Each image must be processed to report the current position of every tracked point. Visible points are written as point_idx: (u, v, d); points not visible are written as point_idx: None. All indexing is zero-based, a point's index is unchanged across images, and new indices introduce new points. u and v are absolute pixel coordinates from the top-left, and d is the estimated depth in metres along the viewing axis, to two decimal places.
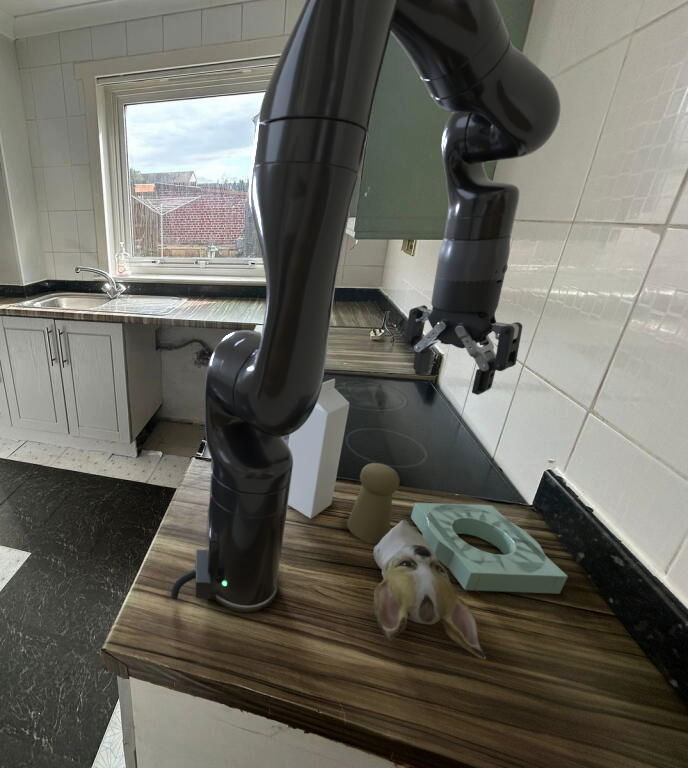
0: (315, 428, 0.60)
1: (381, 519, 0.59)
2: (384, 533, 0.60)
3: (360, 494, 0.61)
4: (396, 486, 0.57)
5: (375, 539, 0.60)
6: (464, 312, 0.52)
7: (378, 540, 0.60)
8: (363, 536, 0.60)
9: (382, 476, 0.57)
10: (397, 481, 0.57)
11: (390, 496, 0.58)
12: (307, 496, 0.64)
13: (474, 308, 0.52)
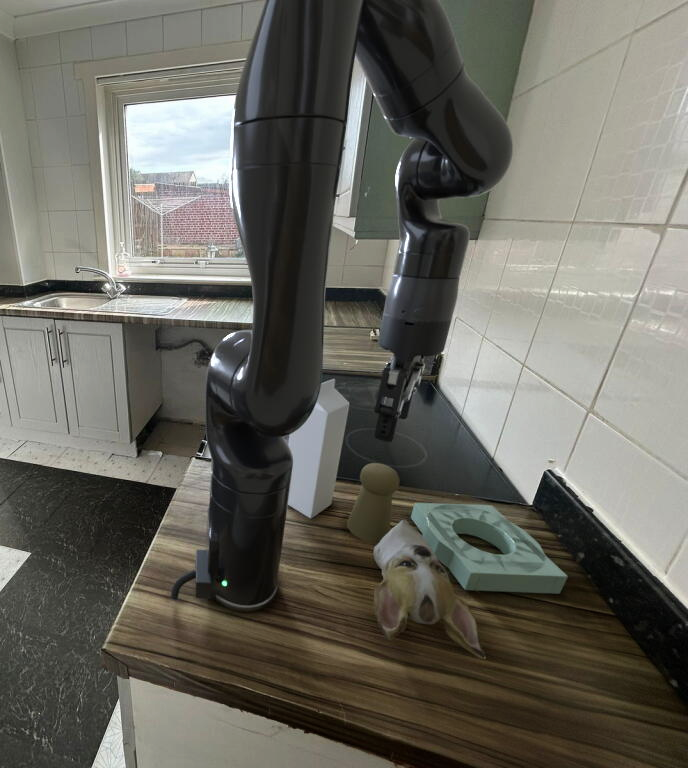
0: (315, 428, 0.60)
1: (381, 519, 0.59)
2: (384, 533, 0.60)
3: (360, 494, 0.61)
4: (396, 486, 0.57)
5: (375, 539, 0.60)
6: (380, 345, 0.52)
7: (378, 540, 0.60)
8: (363, 536, 0.60)
9: (382, 476, 0.57)
10: (397, 481, 0.57)
11: (390, 496, 0.58)
12: (307, 496, 0.64)
13: (384, 343, 0.51)
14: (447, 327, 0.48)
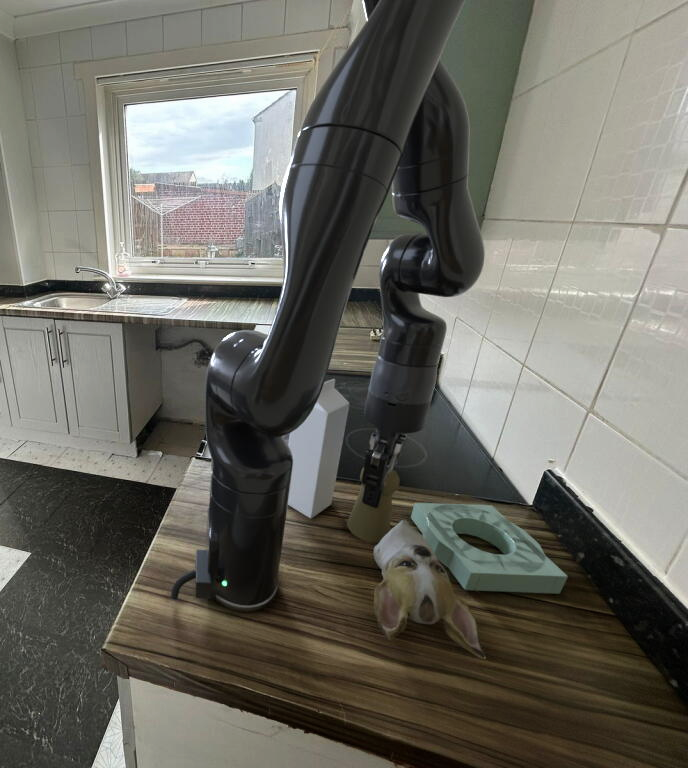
0: (315, 428, 0.60)
1: (381, 518, 0.59)
2: (384, 533, 0.60)
3: (360, 494, 0.61)
4: (396, 486, 0.57)
5: (375, 539, 0.60)
6: (365, 418, 0.56)
7: (378, 540, 0.60)
8: (363, 536, 0.60)
9: None
10: (397, 481, 0.57)
11: (390, 496, 0.58)
12: (307, 496, 0.64)
13: (369, 418, 0.55)
14: (426, 408, 0.52)
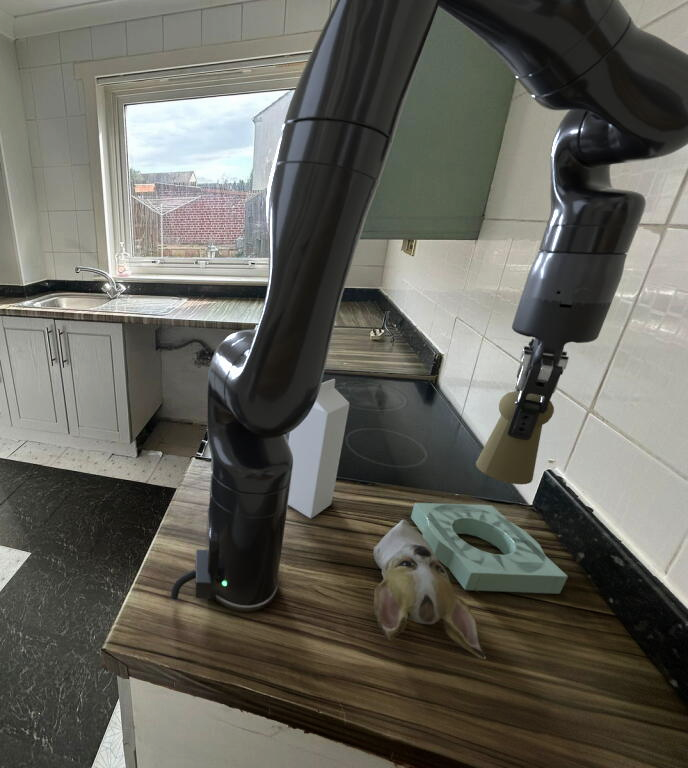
0: (315, 428, 0.60)
1: (529, 455, 0.50)
2: (530, 472, 0.51)
3: (499, 428, 0.52)
4: (552, 413, 0.48)
5: (519, 480, 0.51)
6: (518, 332, 0.47)
7: (523, 481, 0.51)
8: (504, 477, 0.51)
9: None
10: (552, 408, 0.48)
11: (541, 427, 0.49)
12: (307, 496, 0.64)
13: (527, 329, 0.46)
14: (608, 310, 0.43)
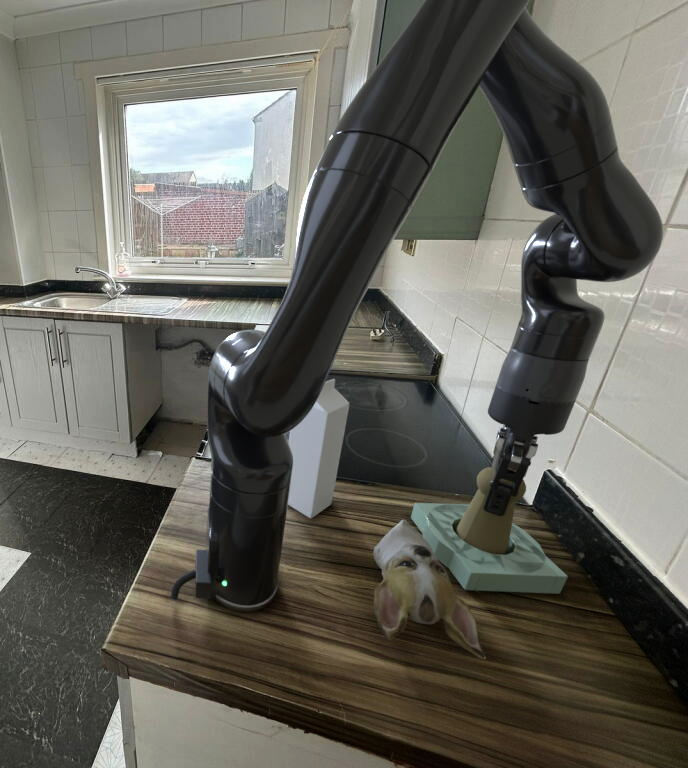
0: (315, 428, 0.60)
1: (503, 528, 0.54)
2: (505, 543, 0.55)
3: (477, 501, 0.56)
4: (524, 492, 0.52)
5: (495, 550, 0.55)
6: (493, 418, 0.51)
7: (498, 551, 0.55)
8: (481, 546, 0.55)
9: (508, 481, 0.52)
10: (525, 487, 0.52)
11: (514, 503, 0.53)
12: (307, 496, 0.64)
13: (500, 418, 0.50)
14: (572, 406, 0.47)
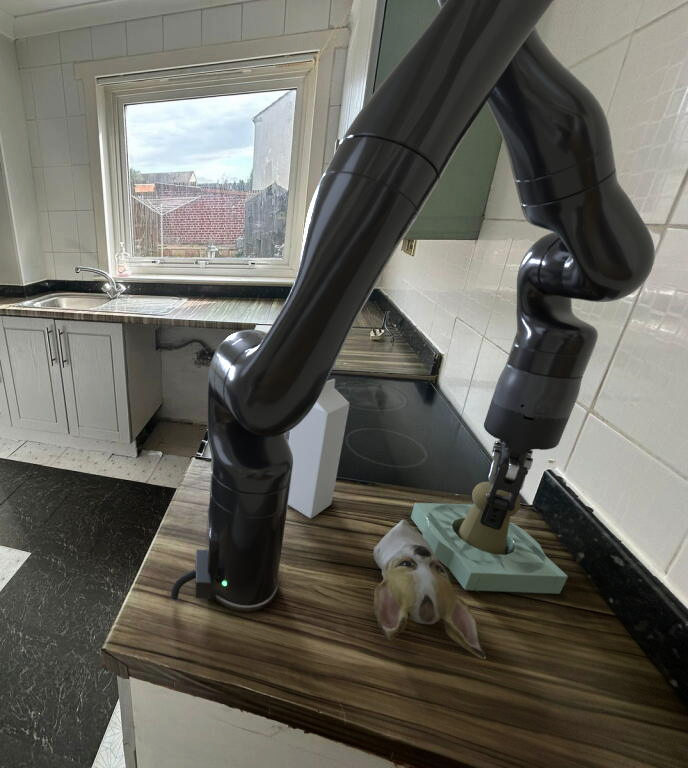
0: (315, 428, 0.60)
1: (498, 542, 0.55)
2: None
3: (472, 515, 0.56)
4: (518, 508, 0.53)
5: None
6: (489, 432, 0.52)
7: None
8: None
9: None
10: (519, 502, 0.53)
11: (509, 518, 0.54)
12: (307, 496, 0.64)
13: (495, 432, 0.51)
14: (566, 422, 0.47)
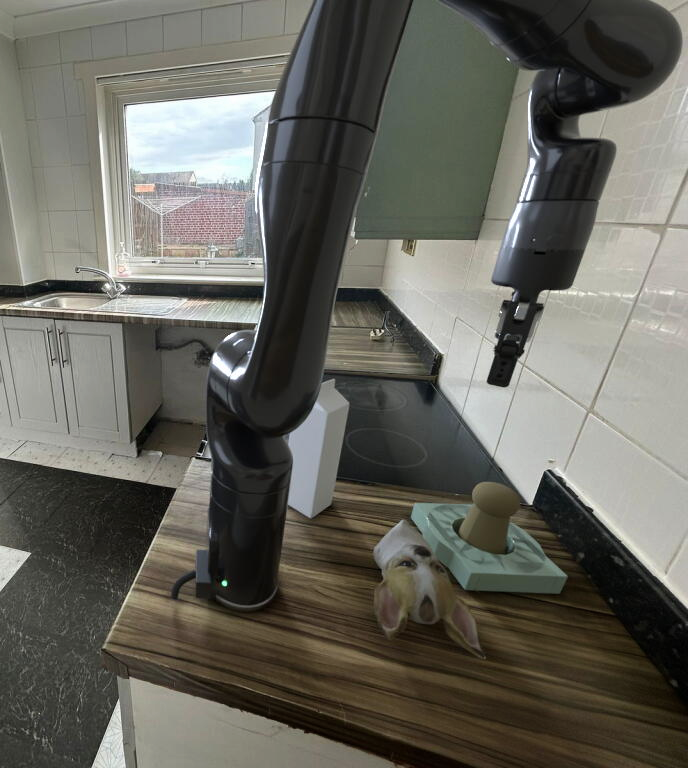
0: (315, 428, 0.60)
1: (498, 542, 0.55)
2: None
3: (472, 515, 0.56)
4: (518, 508, 0.53)
5: None
6: (496, 283, 0.48)
7: None
8: None
9: (503, 497, 0.53)
10: (519, 502, 0.53)
11: (509, 518, 0.54)
12: (307, 496, 0.64)
13: (504, 279, 0.47)
14: (581, 257, 0.44)
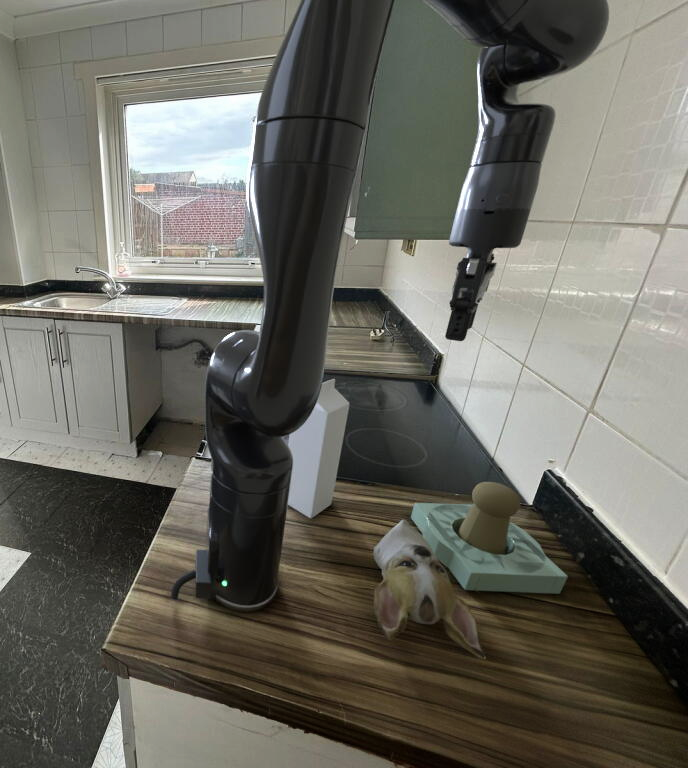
0: (314, 428, 0.60)
1: (498, 542, 0.55)
2: None
3: (472, 515, 0.56)
4: (518, 508, 0.53)
5: None
6: (453, 243, 0.52)
7: None
8: None
9: (503, 497, 0.53)
10: (519, 502, 0.53)
11: (509, 518, 0.54)
12: (307, 496, 0.64)
13: (459, 239, 0.51)
14: (527, 216, 0.48)
